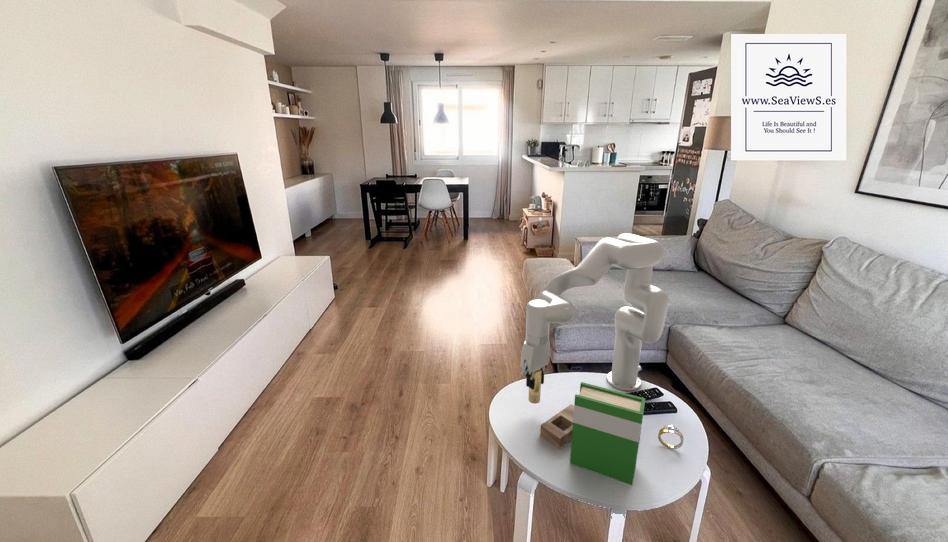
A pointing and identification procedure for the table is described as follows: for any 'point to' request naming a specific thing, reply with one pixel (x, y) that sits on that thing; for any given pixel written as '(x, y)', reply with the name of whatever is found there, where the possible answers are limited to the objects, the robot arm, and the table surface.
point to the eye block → (553, 432)
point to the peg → (535, 388)
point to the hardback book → (606, 431)
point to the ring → (672, 430)
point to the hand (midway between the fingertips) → (534, 384)
